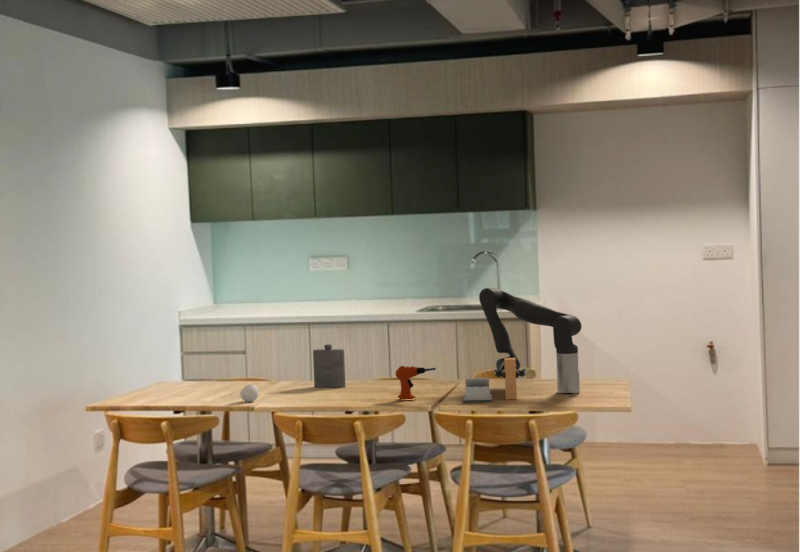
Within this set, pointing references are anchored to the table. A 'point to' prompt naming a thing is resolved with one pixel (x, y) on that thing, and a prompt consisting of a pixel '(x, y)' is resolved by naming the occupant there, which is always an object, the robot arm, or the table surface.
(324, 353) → the flask
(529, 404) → the table surface
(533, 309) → the robot arm
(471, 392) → the vise
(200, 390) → the table surface
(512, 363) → the orange block
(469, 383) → the block
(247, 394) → the gray round stone
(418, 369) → the toy drill
